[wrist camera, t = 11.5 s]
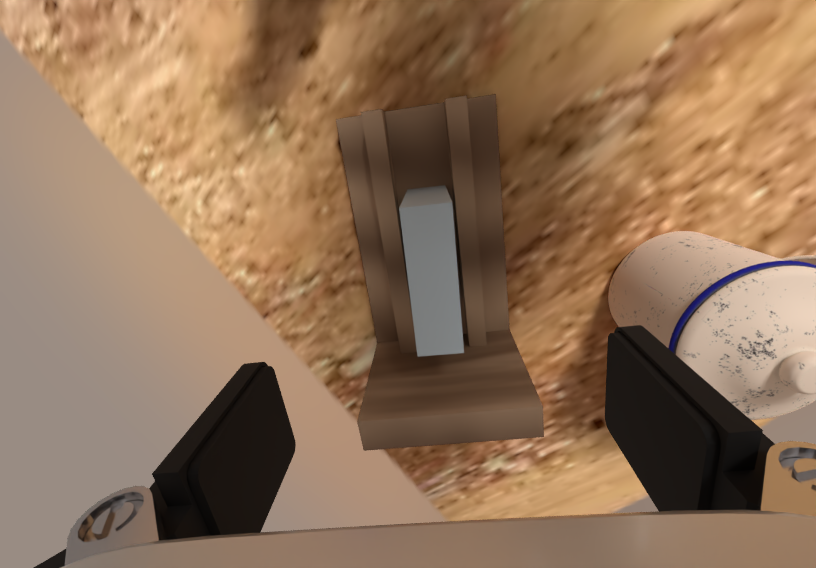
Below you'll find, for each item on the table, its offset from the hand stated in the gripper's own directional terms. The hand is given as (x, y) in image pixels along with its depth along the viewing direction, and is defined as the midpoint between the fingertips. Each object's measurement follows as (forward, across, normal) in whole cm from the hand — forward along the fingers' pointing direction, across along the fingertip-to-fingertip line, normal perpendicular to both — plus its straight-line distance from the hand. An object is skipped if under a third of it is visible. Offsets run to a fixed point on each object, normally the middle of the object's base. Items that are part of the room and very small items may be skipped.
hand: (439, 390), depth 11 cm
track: (+18, 0, 0) cm, 18 cm away
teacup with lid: (+18, -18, +5) cm, 26 cm away
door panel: (+17, 0, 0) cm, 17 cm away
